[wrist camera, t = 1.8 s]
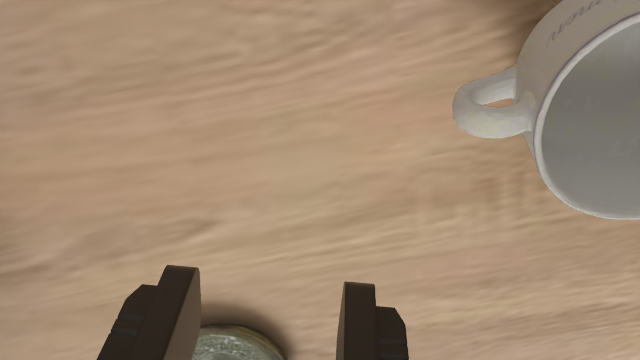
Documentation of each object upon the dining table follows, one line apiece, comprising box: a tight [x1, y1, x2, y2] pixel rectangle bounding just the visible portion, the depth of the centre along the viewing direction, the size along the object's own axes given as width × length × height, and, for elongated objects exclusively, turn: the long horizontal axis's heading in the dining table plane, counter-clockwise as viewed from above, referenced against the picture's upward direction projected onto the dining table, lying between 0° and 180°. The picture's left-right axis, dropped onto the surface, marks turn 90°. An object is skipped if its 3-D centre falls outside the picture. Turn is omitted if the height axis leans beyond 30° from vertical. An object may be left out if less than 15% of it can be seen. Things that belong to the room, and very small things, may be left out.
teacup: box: [452, 0, 640, 220], centre depth 29 cm, size 14×11×8 cm
